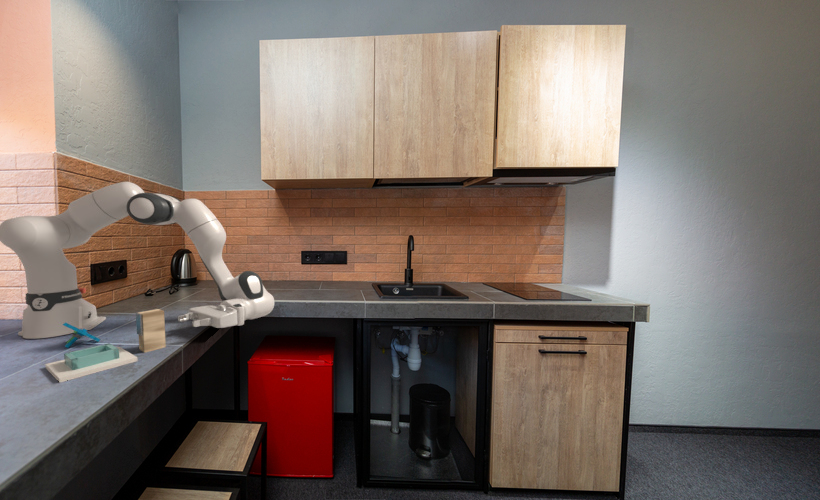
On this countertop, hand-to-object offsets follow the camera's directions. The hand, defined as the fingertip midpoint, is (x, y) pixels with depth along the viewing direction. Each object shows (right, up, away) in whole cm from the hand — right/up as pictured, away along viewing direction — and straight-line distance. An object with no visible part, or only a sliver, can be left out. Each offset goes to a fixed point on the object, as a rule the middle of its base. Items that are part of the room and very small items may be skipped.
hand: (185, 321), depth 99 cm
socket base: (-11, -7, -18) cm, 22 cm away
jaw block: (-5, -6, -7) cm, 11 cm away
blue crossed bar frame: (-29, -6, -4) cm, 29 cm away
